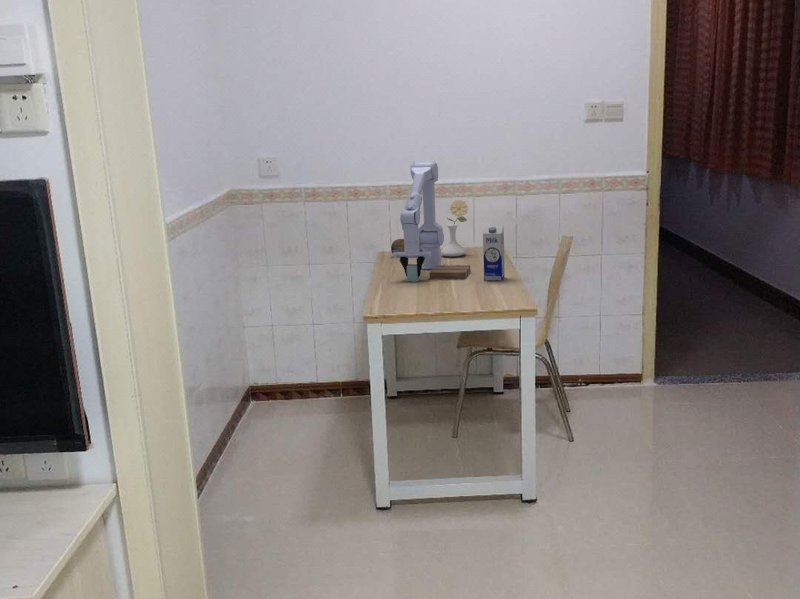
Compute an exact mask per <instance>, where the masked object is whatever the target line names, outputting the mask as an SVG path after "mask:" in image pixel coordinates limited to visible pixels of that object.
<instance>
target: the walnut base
mask: <svg viewBox="0 0 800 599" xmlns="http://www.w3.org/2000/svg"><path fill="white" fill-rule="evenodd" d="M470 273H471V265H469V264H467V265H466V264H465V265H463V264H462V265H456V264H455V265H453V264H451V265H450V264H449V265H442V266H435V267H434V268H433V269H430V271H429V273H428V274H429V280H466V279H467V278H468V276H469V275H468V274H470ZM466 277H467V278H466Z"/></svg>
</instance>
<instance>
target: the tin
mask: <svg viewBox="0 0 800 599" xmlns="http://www.w3.org/2000/svg"><path fill="white" fill-rule="evenodd" d="M390 251H391V253H392V254H393V253H394V252H405V251H404V238H397V239H395V240H394V241H392V243H391V246H390ZM419 251H421V252H423V248H422V247H421V245H420V244H419Z"/></svg>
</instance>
